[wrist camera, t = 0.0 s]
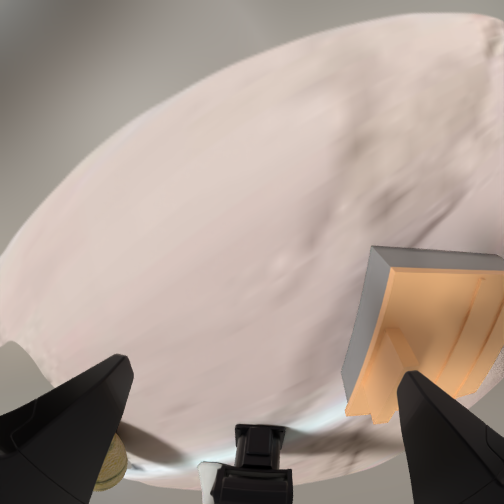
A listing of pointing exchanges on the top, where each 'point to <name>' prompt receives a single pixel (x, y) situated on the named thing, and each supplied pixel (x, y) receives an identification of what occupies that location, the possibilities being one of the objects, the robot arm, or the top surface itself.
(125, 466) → the cantaloupe
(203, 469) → the flask
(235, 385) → the top surface
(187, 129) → the top surface
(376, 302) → the tub
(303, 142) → the top surface
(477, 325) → the lid
